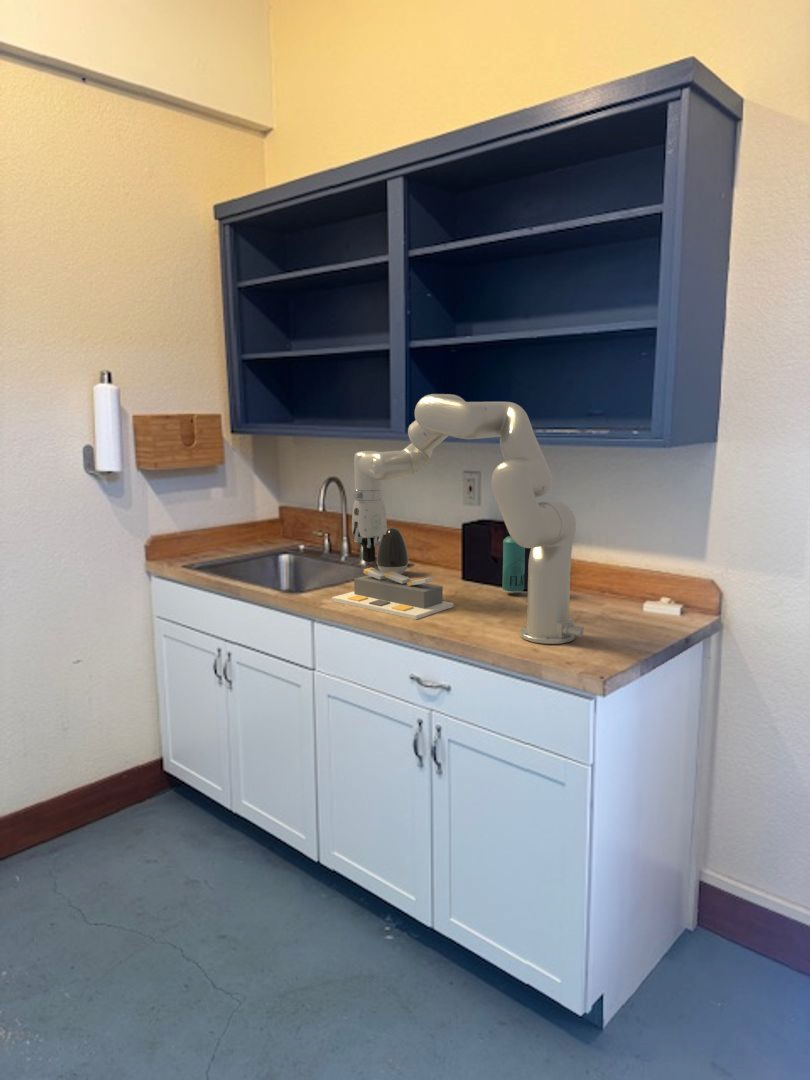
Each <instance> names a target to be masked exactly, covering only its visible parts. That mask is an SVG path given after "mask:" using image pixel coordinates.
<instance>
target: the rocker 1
mask: <svg viewBox="0 0 810 1080" xmlns="http://www.w3.org/2000/svg"><path fill="white" fill-rule="evenodd" d="M362 573H363V574H364V575H370V576H372V577H375V578H377V579H380V580H381V579H385V578H386V577H385V573H384V572H381V571H380V570H379V569H376V568H374V567H369V568H368V567H367V568H363V572H362Z"/></svg>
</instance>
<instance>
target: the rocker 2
mask: <svg viewBox="0 0 810 1080" xmlns="http://www.w3.org/2000/svg"><path fill="white" fill-rule="evenodd" d="M430 582H434V578H433V577H432V576H431V577H425V578H420V579H414V580H410V582H407V585H408V586H411V585H417V584H422V583H426V584H428V583H430Z"/></svg>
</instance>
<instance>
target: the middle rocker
mask: <svg viewBox="0 0 810 1080" xmlns="http://www.w3.org/2000/svg"><path fill="white" fill-rule="evenodd" d="M385 577H386V578H389V579H392V580H394V581H396V582H399V583H401V584H403V583H407V582H410V581H411V578H410V577H408V576H406V575H403V574H398V573H396V572H394V571H392V572H388V573H385Z"/></svg>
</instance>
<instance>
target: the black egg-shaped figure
mask: <svg viewBox="0 0 810 1080" xmlns="http://www.w3.org/2000/svg"><path fill="white" fill-rule="evenodd" d="M378 544H379V545H378V548H377V555H376V565H377V567H378V570H379V571H381V572H384V573H388V572H392V571H394V572H396V573H398V574H401V575H403V574H404V573H405V572H406V570H407V568H408V565H409V555H408V547H407V545H406V542H405V538H404V537H403V534H402V533H401V532H400V530H399V529H398V528H395V527H390V528H387V532H386V534H384V535H383V537H382V538H381V539H380V541H379V543H378Z"/></svg>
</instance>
